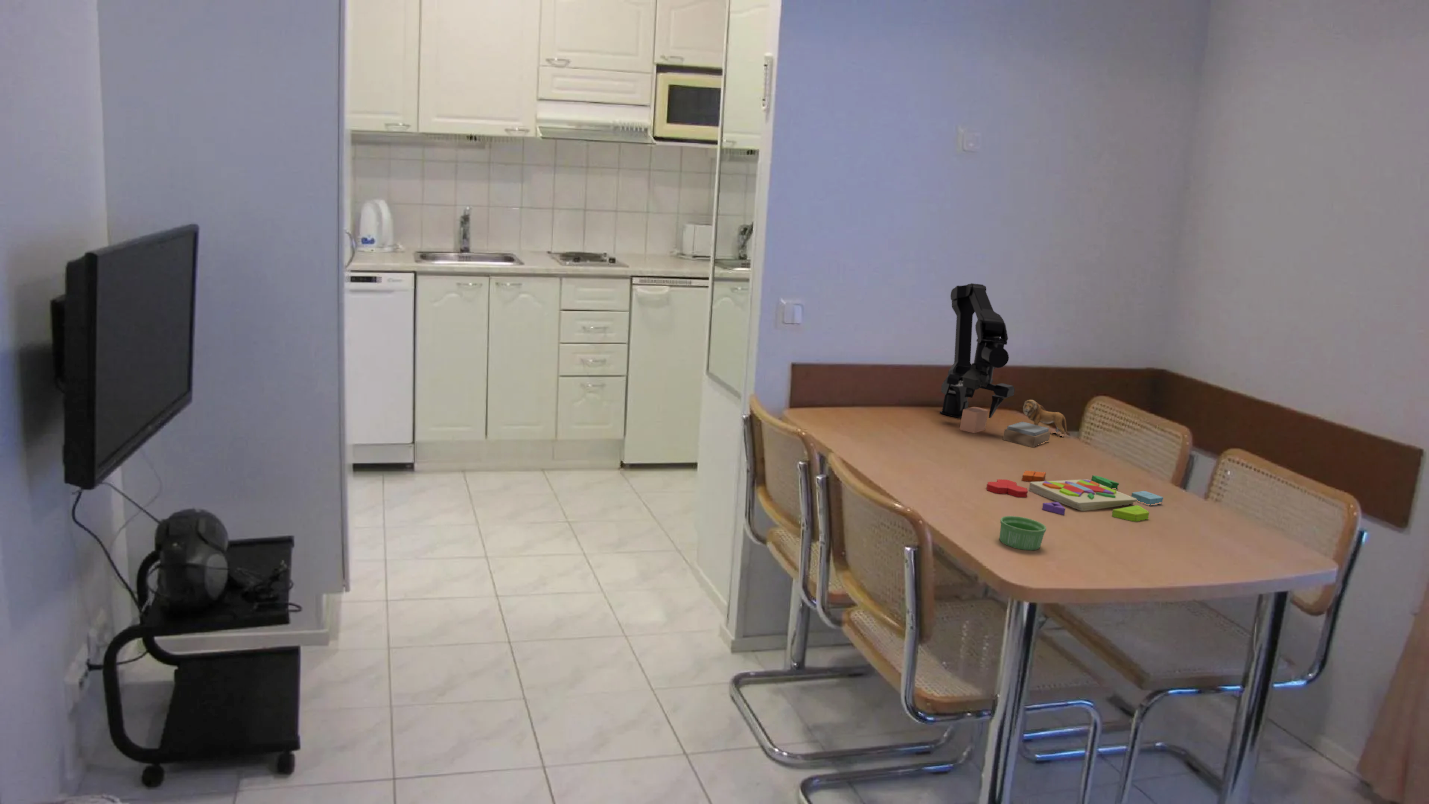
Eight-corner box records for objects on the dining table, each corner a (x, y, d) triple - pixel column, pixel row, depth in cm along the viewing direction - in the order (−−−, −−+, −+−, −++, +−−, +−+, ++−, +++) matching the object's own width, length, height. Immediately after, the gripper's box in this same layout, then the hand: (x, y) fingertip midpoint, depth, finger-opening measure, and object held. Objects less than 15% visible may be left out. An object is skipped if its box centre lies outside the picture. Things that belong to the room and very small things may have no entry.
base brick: (1002, 439, 324) (1005, 425, 323) (1018, 434, 334) (1021, 420, 333) (1033, 447, 319) (1035, 433, 318) (1048, 441, 329) (1051, 428, 328)
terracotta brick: (959, 429, 330) (963, 409, 329) (970, 426, 337) (974, 406, 336) (973, 433, 328) (977, 412, 327) (984, 430, 334) (988, 409, 333)
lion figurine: (1018, 429, 341) (1024, 399, 339) (1019, 426, 346) (1025, 397, 344) (1069, 439, 336) (1075, 409, 334) (1070, 435, 341) (1076, 406, 339)
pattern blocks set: (1055, 471, 297) (1058, 460, 297) (1182, 510, 274) (1184, 498, 274) (974, 488, 270) (976, 476, 270) (1106, 533, 248) (1109, 520, 247)
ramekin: (1050, 552, 228) (1054, 531, 227) (1009, 550, 226) (1013, 529, 225) (1029, 537, 237) (1033, 516, 236) (989, 535, 235) (993, 514, 234)
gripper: (942, 356, 327) (933, 409, 330) (1004, 370, 316) (994, 425, 320) (958, 353, 336) (949, 405, 339) (1019, 366, 325) (1009, 420, 329)
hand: (975, 414), depth 331 cm, fingers open, 9 cm apart
